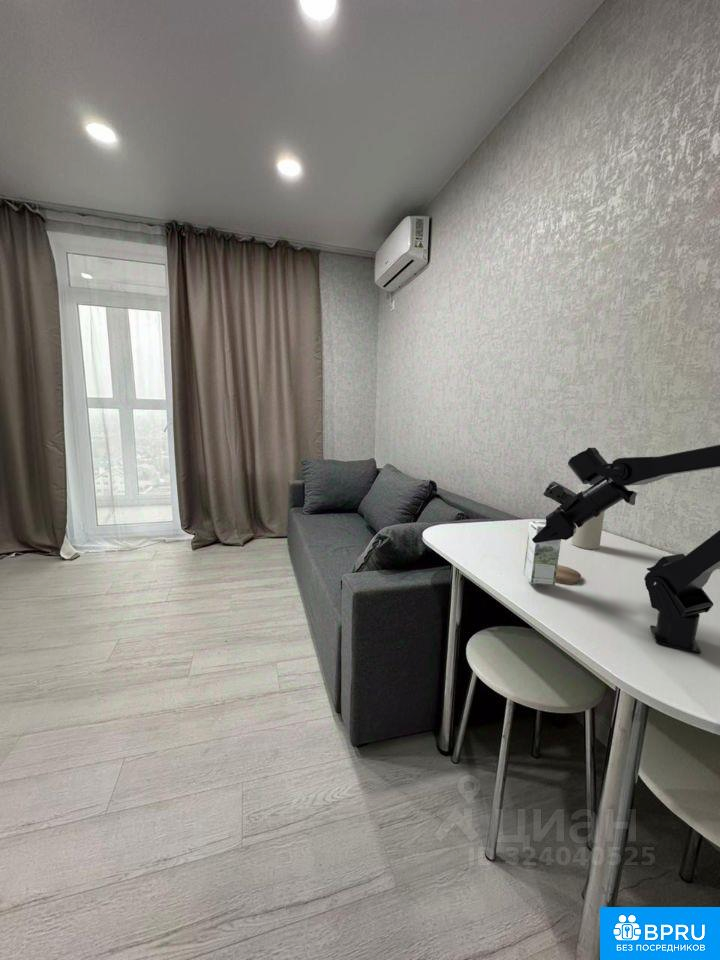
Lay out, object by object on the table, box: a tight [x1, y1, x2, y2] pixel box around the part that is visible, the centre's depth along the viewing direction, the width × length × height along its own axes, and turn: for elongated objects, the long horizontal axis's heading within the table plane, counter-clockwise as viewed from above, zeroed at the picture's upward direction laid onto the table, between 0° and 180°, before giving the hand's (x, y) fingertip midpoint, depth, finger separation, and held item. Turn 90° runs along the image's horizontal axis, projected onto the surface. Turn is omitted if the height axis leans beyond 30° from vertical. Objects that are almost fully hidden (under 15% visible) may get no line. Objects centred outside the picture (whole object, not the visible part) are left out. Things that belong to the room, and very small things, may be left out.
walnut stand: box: [555, 564, 582, 585], centre depth 100 cm, size 10×10×1 cm
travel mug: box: [571, 489, 606, 550], centre depth 124 cm, size 8×8×18 cm
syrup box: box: [523, 520, 562, 587], centre depth 92 cm, size 6×6×14 cm
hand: (537, 537), depth 93 cm, fingers closed on syrup box, 7 cm apart
